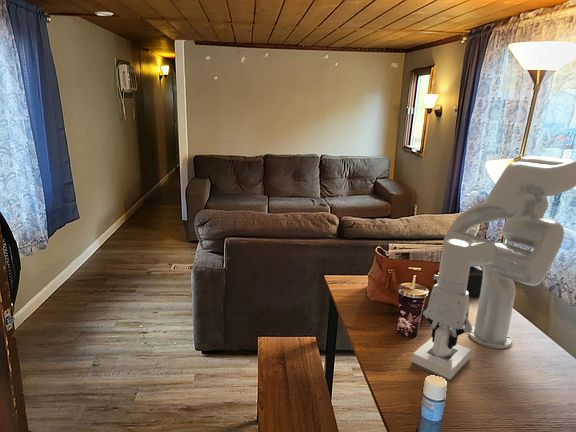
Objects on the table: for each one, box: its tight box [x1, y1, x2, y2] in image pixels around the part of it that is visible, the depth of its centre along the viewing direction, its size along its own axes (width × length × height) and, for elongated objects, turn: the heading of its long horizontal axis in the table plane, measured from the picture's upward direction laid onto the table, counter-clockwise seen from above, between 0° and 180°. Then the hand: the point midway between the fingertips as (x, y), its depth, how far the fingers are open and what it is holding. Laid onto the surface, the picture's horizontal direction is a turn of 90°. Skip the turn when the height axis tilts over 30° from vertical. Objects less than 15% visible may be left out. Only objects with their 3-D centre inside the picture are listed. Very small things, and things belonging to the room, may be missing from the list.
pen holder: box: [466, 266, 483, 299], centre depth 164 cm, size 9×9×10 cm
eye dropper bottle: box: [432, 323, 452, 357], centre depth 118 cm, size 4×6×12 cm
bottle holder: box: [411, 336, 472, 383], centre depth 120 cm, size 14×11×4 cm
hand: (443, 343), depth 119 cm, fingers closed on eye dropper bottle, 4 cm apart
